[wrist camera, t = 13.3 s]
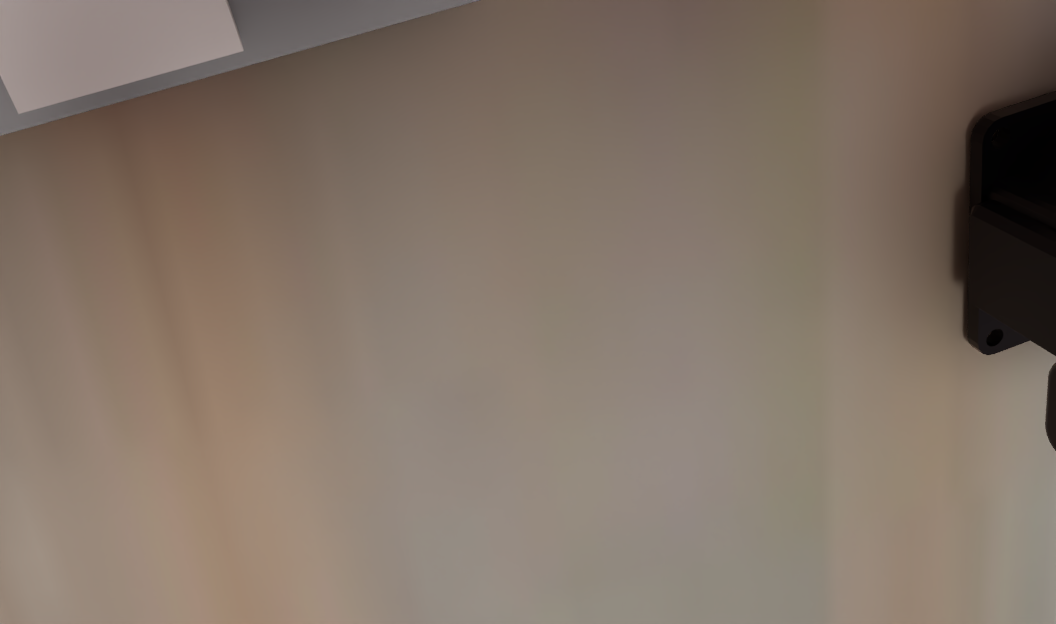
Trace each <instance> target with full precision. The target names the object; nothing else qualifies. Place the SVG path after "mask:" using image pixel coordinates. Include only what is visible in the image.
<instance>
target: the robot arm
mask: <svg viewBox="0 0 1056 624" xmlns="http://www.w3.org/2000/svg"><path fill="white" fill-rule="evenodd" d="M998 129H999V131H998V135H997V137H996V138H995V140H994V141H992V137H993V135H994V133H995V132H996V131H997V130H998ZM991 331H992V332H991ZM990 332H991V334H990ZM989 334H990V335H989ZM988 335H989V336H988ZM987 336H988V337H987ZM1030 340H1031V341H1032V342H1034V343H1036V344H1037V345H1039V346H1040V347H1042V348H1044V349H1045V350H1047V351H1048V352H1050V353H1052V354H1053V355H1055V356H1056V91H1055V92H1052V93H1049V94H1046V95H1042V96H1039V97H1036V98H1033V99H1030V100H1027V101H1024V102H1021V103H1018V104H1015V105H1012V106H1009V107H1006V108H1003V109H1000V110H997V111H994V112H991V113H989V114H987V115H985V116H983V117H982V118H981V119H980V120H979V121H978V122H977V123H976V125H975V127H974V129H973V131H972V135H971V154H970V217H969V280H968V341H969V343H970V345H971V346H972V347H974V348H975V349H977V350H978V351H980V352H981V353H983V354H986V355H991V354H995V353H998V352H1000V351H1003V350H1006V349H1008V348H1011V347H1014V346H1016V345H1019V344H1022V343H1024V342H1027V341H1030ZM1045 428H1046V433H1047V436H1048V438H1049V441H1050V443H1051V445H1052V446H1053V448H1054V449H1055V451H1056V363H1055V364H1054V365H1053V366H1052V368H1051V370H1050V371H1049V376H1048V389H1047V405H1046V421H1045Z"/></svg>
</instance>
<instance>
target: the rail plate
mask: <svg viewBox="0 0 1056 624" xmlns="http://www.w3.org/2000/svg"><path fill="white" fill-rule="evenodd" d="M476 1H479V0H0V136H2V135H5V134H9V133H12V132H16V131H19V130H23V129H26V128H30V127H33V126H37V125H40V124H44V123H48V122H51V121H55V120H58V119H62V118H65V117H69V116H72V115H76V114H79V113H83V112H86V111H90V110H94V109H97V108H101V107H104V106H108V105H111V104H115V103H118V102H122V101H125V100H129V99H132V98H136V97H139V96H143V95H147V94H150V93H154V92H157V91H161V90H164V89H168V88H171V87H175V86H178V85H182V84H185V83H189V82H193V81H196V80H200V79H203V78H207V77H210V76H214V75H217V74H221V73H224V72H228V71H231V70H235V69H239V68H242V67H246V66H249V65H253V64H256V63H260V62H263V61H267V60H270V59H274V58H277V57H281V56H285V55H288V54H292V53H295V52H299V51H302V50H306V49H309V48H313V47H316V46H320V45H323V44H327V43H331V42H334V41H338V40H341V39H345V38H348V37H352V36H355V35H359V34H362V33H366V32H369V31H373V30H376V29H380V28H384V27H387V26H391V25H394V24H398V23H401V22H405V21H408V20H412V19H415V18H419V17H422V16H426V15H430V14H433V13H437V12H440V11H444V10H447V9H451V8H454V7H458V6H461V5H465V4H468V3H472V2H476Z"/></svg>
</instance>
